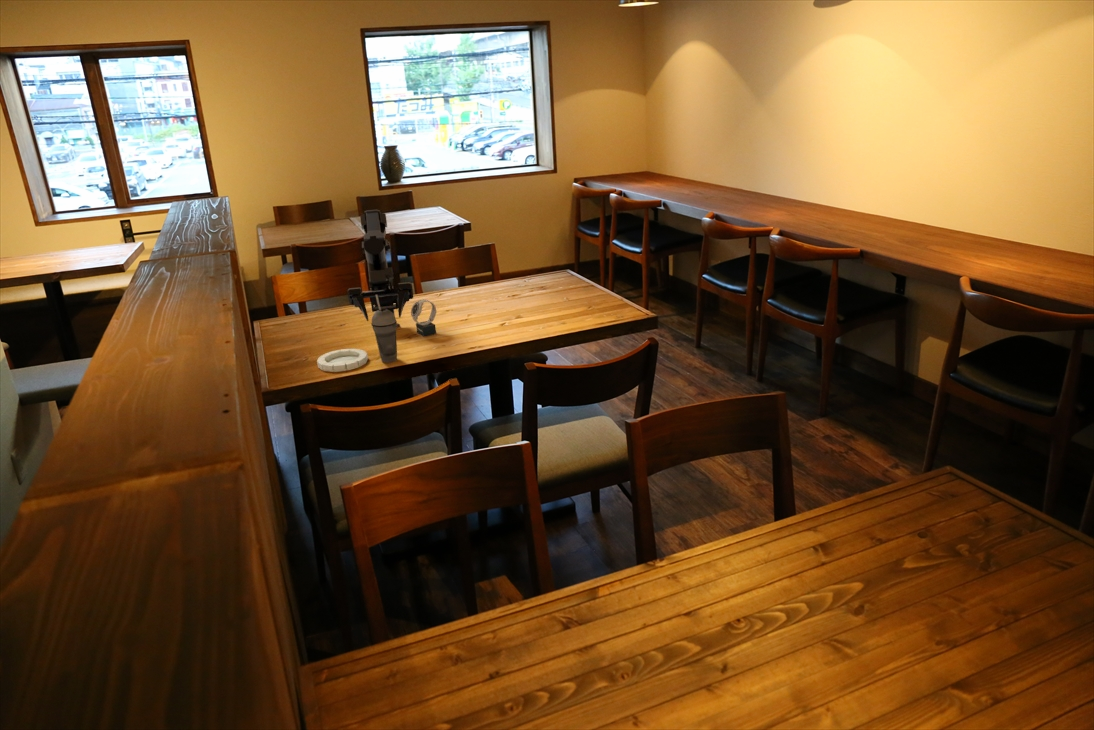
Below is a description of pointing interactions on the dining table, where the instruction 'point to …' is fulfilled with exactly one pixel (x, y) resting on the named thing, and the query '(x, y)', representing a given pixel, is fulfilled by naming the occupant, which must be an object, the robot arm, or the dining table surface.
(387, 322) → the beverage cup
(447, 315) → the dining table surface
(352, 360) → the ring tray
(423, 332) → the watch
